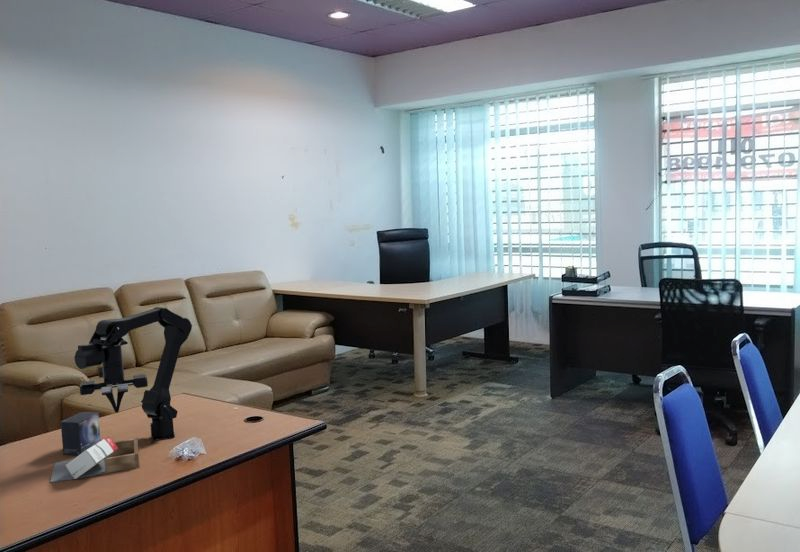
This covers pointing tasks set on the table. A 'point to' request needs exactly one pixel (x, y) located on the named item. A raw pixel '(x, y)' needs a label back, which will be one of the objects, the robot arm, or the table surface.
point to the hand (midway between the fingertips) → (116, 412)
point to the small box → (80, 432)
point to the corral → (123, 456)
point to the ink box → (91, 457)
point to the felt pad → (63, 474)
